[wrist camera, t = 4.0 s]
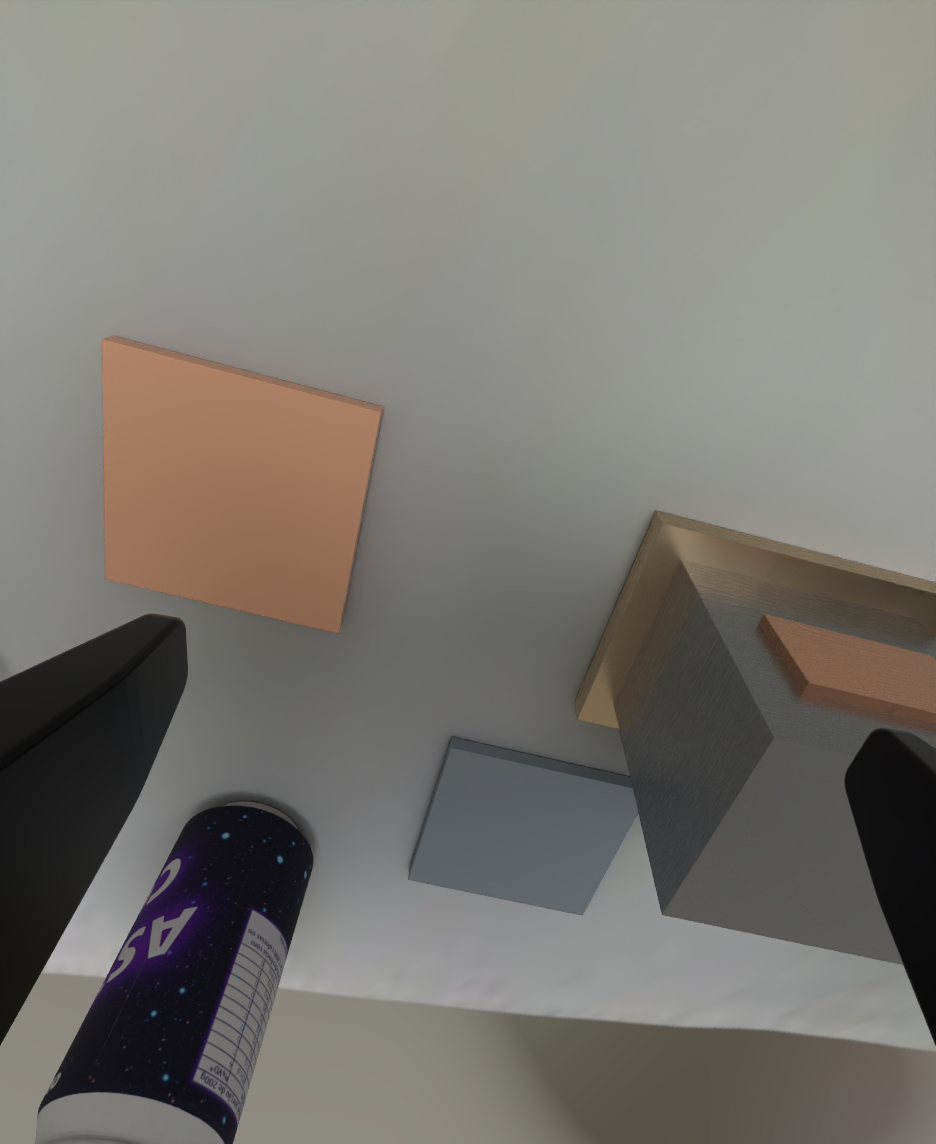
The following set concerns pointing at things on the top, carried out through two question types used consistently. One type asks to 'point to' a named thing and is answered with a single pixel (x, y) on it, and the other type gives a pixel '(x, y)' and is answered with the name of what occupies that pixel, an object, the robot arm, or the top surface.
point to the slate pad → (522, 827)
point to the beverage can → (187, 990)
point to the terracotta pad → (232, 484)
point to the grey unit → (760, 723)
